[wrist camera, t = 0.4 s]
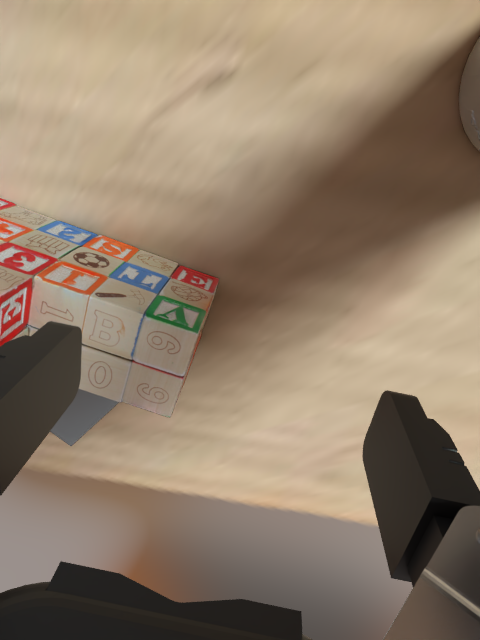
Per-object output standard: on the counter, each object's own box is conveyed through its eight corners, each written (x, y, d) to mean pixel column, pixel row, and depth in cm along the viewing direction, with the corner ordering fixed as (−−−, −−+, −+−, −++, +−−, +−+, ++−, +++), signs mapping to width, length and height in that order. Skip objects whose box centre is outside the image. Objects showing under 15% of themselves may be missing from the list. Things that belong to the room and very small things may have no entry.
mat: (-69, 204, 31) (-72, 205, 31) (144, 377, 36) (143, 380, 36) (-126, 300, 36) (-129, 302, 35) (72, 444, 40) (71, 446, 40)
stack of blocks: (222, 276, 31) (190, 364, 20) (197, 346, 34) (157, 458, 23) (-71, 171, 30) (-277, 204, 19) (-72, 253, 33) (-254, 325, 22)
